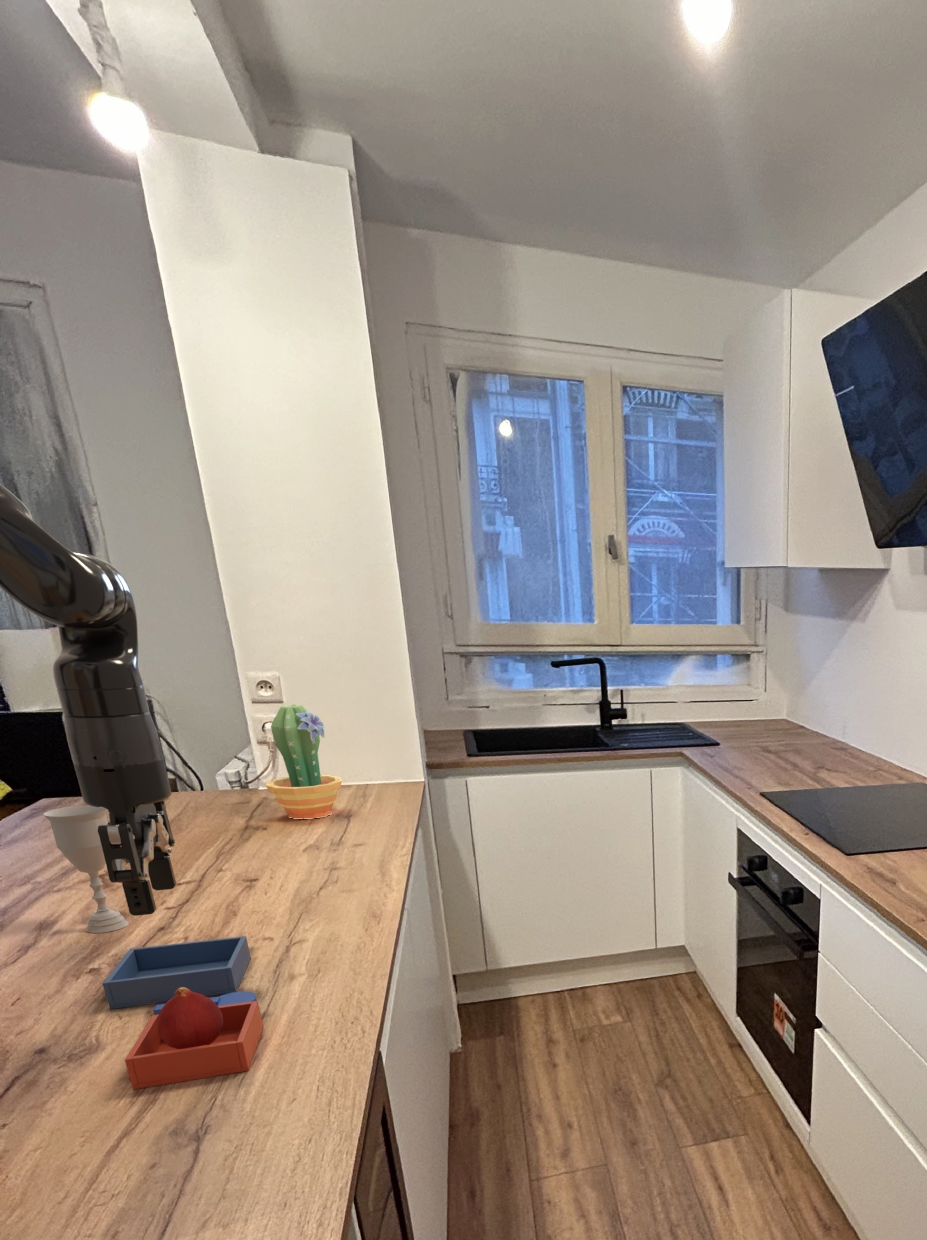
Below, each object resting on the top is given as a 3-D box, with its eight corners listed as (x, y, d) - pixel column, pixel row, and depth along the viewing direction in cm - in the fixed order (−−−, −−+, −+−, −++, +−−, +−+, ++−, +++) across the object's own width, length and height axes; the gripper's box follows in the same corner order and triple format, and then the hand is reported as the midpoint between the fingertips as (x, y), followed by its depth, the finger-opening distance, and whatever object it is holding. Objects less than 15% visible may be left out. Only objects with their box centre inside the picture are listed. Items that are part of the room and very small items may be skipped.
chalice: (136, 915, 127) (107, 803, 121) (139, 928, 122) (109, 812, 116) (75, 925, 123) (42, 809, 117) (76, 939, 118) (42, 819, 112)
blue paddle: (152, 1030, 94) (149, 1016, 94) (163, 1012, 98) (160, 998, 98) (254, 1015, 98) (251, 1002, 97) (260, 998, 102) (258, 985, 102)
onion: (170, 1045, 90) (153, 980, 87) (231, 1035, 93) (217, 971, 90) (161, 1071, 85) (143, 1003, 83) (226, 1059, 88) (210, 992, 85)
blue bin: (109, 1009, 99) (102, 983, 97) (136, 972, 108) (129, 948, 107) (236, 992, 104) (230, 967, 102) (251, 958, 113) (246, 935, 112)
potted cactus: (281, 827, 177) (259, 711, 169) (264, 813, 188) (243, 703, 179) (356, 817, 187) (340, 706, 179) (336, 804, 198) (320, 700, 189)
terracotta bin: (132, 1089, 83) (124, 1060, 82) (159, 1042, 92) (152, 1014, 90) (248, 1070, 87) (242, 1042, 86) (263, 1027, 96) (258, 1000, 94)
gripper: (97, 747, 90) (133, 885, 96) (47, 771, 78) (91, 927, 83) (178, 744, 93) (208, 878, 98) (142, 767, 81) (178, 918, 86)
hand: (154, 900), depth 91 cm, fingers open, 8 cm apart
